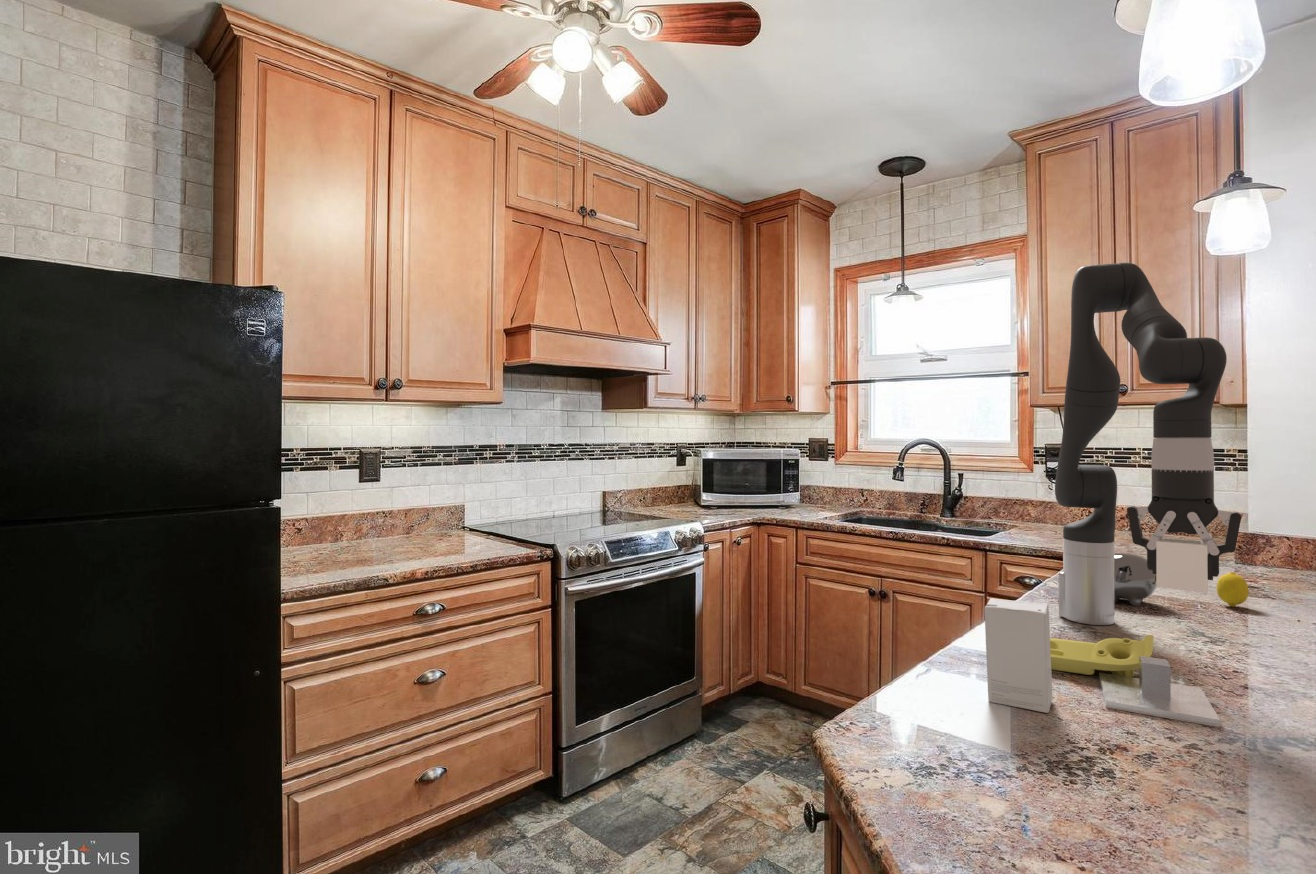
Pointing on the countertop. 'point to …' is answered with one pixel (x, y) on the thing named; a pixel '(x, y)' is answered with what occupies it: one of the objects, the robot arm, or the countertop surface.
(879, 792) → the countertop surface
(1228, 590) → the lemon
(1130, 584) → the piggy bank
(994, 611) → the skincare box
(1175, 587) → the square tube sleeve
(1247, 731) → the countertop surface
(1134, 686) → the duct stub
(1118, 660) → the plastic component
